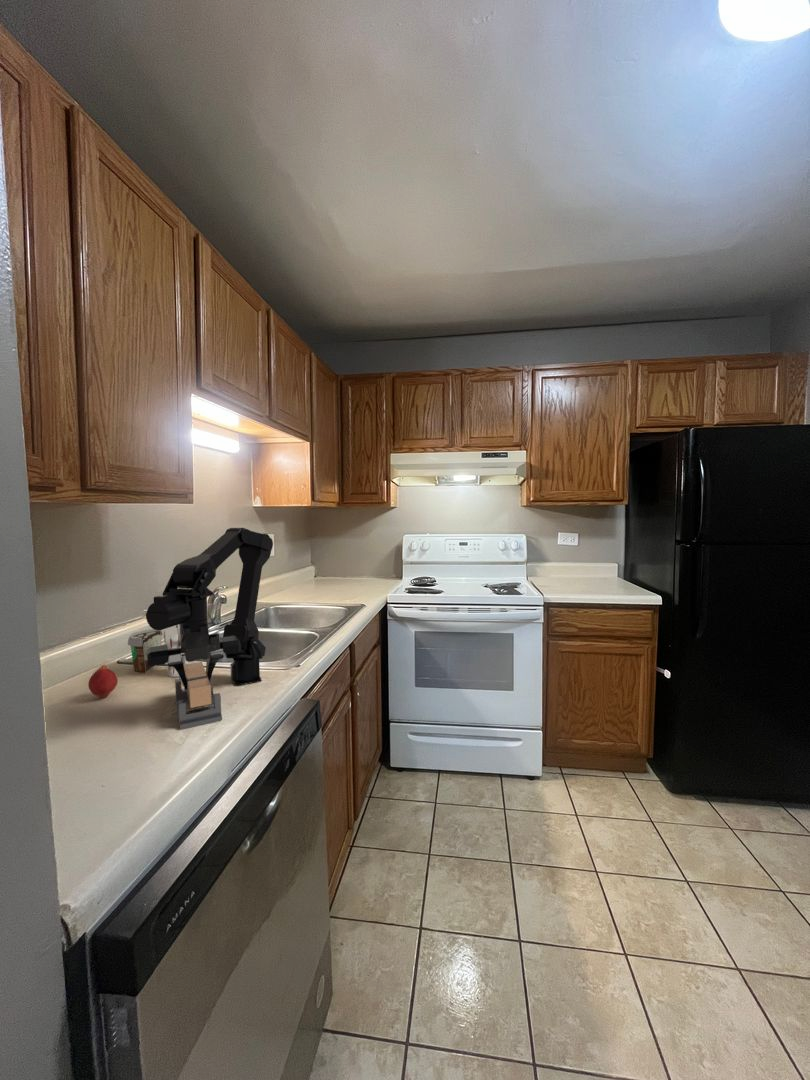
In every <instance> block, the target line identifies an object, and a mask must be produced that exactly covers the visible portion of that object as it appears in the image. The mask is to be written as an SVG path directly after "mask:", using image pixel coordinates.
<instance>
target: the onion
mask: <svg viewBox="0 0 810 1080" xmlns="http://www.w3.org/2000/svg"><path fill="white" fill-rule="evenodd" d="M88 680H89V681H88V683H87V684H88V689H89V691H90V692H91V693H92V694H93V695H94V696H97V697H99V698H103V699H104V698H107V697H108V696H109V695H110V694H111V693H112V692H113V691H114V690H116V688H117V686H118V676H117V674H116V673H115V672H114V671H113V670H111V669H110V668H107V665H106V664H102V665H100V667H99V668H98V669H97V670H96V671H95V672H93V673H92V675H91V676H90V677H89V679H88Z"/></svg>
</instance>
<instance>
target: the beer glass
mask: <svg viewBox="0 0 810 1080" xmlns="http://www.w3.org/2000/svg"><path fill="white" fill-rule="evenodd" d="M163 638H164V639H163V640H164V641H163V642H164V645H167V647H168V649H173V648H180V647H181V639H180V624H179V625H175V626H172V627H169V628H166V629H163ZM182 660H183V665H184V664H191V662H188V661H186V660H185V656H182ZM167 667H168V666H167ZM167 676H168V677H169V678H180V676H179V674H178V672H177V671H176V669H175V668H174V667H168V669H167Z"/></svg>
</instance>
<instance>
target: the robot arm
mask: <svg viewBox="0 0 810 1080" xmlns="http://www.w3.org/2000/svg"><path fill="white" fill-rule="evenodd" d="M273 545H274V542H273V539H272V538H271V537H270V535H269V534H268V533H260V532H258V531H257V532H256V531H253V530H250V529H248V528H245V527H229V528H227V529H226V530H225V533H223V534H222V535H221V536H220V537H219V538H218V539H216V540H215V541H214V542H213V543H211V544H210V545H209V546H208V547H207V548H206V549H204V551H202V552H201V553H200V554H198V555H196V556H191V557H190V558H187V559H184V560H183V561H181V562H179V563H177V564H176V565H175V566H174V568H173V569H172V573H171V575H170V577H169V579H168V581H167V584H166V585H165V588H164V590H163V591H162V595H155V596H153V602H152V603H151V604H150V605H149V606H148V608H147V611H146V613H145V619H146V622H147V624H148V625H149V627H150V629H154V630H162V631H164V629H166V628H169V627H172V626H175V625H179V624H180V639H181V647H180V648H173V649H168V647H167V645H165V644H164V645H162V644H161V646H155V647H150V648H149V649H148V650H147V662H148V666H155V667H156V665H157V666H162V665H165V664H166V663H167V667H174V668H175V669H176V671H177V672H178V674H179V676H180V677H179V679H181V684H182V685H183V689H184V688H185V690H187V680H186V675H185V670H184V665H183V660H182V656H185V660H186V661H188V662H190V663H194V662H195V661H198V660H205V661H206V665H205V671H206V674H207V675H208V679H209V682H210V679H211V676H213V672H214V670H215V667H216V665H217V663H218V662H219V660H223V659H224V657H225V658H226V659H232V663H230V666H229V667H230V668H229V669H230V679H231V682H233V683H234V685H235V686H241V684H242V685H246V684H245V683H248V684H252V683H251V682H253V683H256V682H257V681H258V682H261V681H262V677H261V675H260V674H261V672H260V668H261V667H260V660H262V659H263V657H264V656H265V653H266V646H265V645H264V643H262V641H261V640H260V639H259V636H260V635H259V634H260V633H259V628H258V627H257V624H256V622H255V617H256V611H257V610H256V609H257V603H258V595H259V590H260V583H261V579H262V578H261V577H262V571H263V570H262V569H263V567H264V565H265V564H266V563H267V561H269V560H270V558H271V553H272V549H273ZM237 550H238V556H239V558H240V560H241V563H242V568H241V569H242V570H241V575H240V582H239V587H238V593H237V600H236V606H235V607H236V608H235V611H234V617H233V619H232V620H231V622H230V623H229V624H228V623H226V624H225V625H224V627H223V636H220V634H219V633H211V634H210V633H209V618H208V616H209V614H208V597H212V596H214V592H213V591H212V590H211V589H209V588H208V587H209V586H210V584H211V583H212V582H213V580H214V579H215V578H216V576H217V569H218V568H219V567H220V566H221V565H222V564H223V563H225V561H226V560H227V559H228V558H229V557H231V556H232V555H233V554H234V553H235V552H236V551H237ZM223 653H224V654H225V656H224V654H223Z"/></svg>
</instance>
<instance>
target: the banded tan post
mask: <svg viewBox="0 0 810 1080" xmlns="http://www.w3.org/2000/svg"><path fill="white" fill-rule="evenodd" d="M184 670H185V675H186V680H187V696H188V699H189V703H190V708H193V707H198V706H203V705H208V704H212V703H211V684H210V682H209V679H208V675H207V674H206V668H205V667H204V664H203V661H199V662H190V664H184Z"/></svg>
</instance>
